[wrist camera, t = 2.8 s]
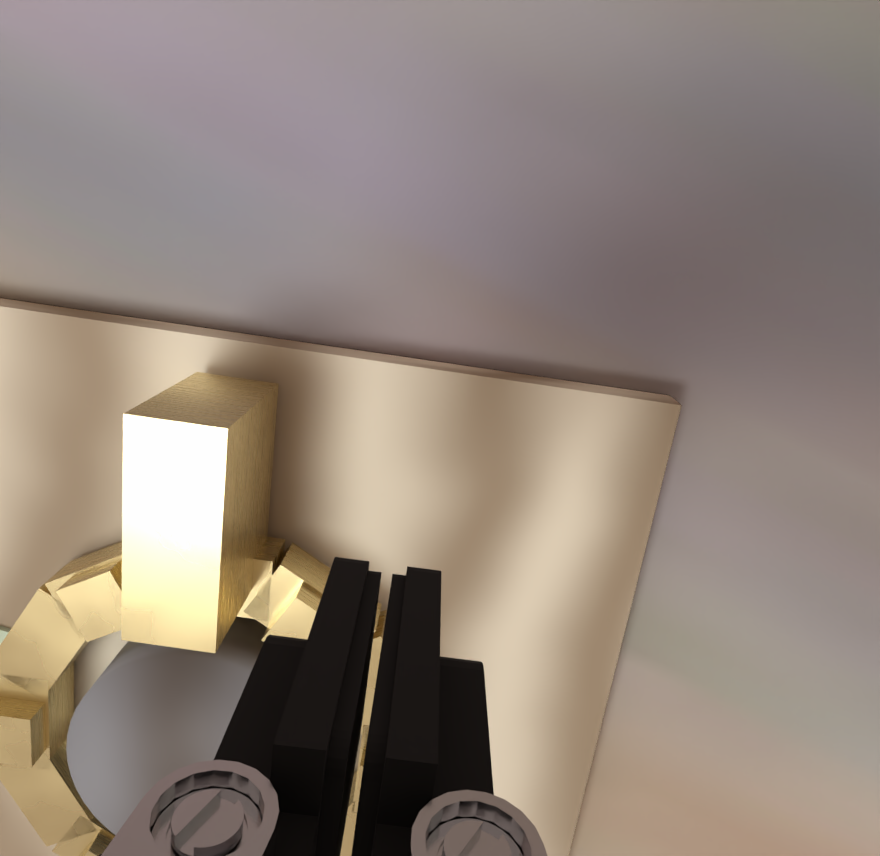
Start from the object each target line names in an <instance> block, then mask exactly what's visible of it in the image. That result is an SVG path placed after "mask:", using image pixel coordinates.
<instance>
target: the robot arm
mask: <svg viewBox="0 0 880 856" xmlns="http://www.w3.org/2000/svg"><path fill="white" fill-rule="evenodd" d="M381 573H382V572H376V571H369V561H363V560H356V559H348V558H340V557H335V558H334V560H333V563H332V566H331V569H330V572H329V575H328V579H327V582H326V585H325V588H324V591H323V594H322V597H321V600H320V603H319V606H318V609H317V612H316V615H315V618H314V621H313V624H312V627H311V630H310V633H309V636H308V639H300V638H293V637H285V636H277V635H268V636H267V637H266V639H265V641H264V643H263V645H262V648H261V650H260V652H259V655H258V657H257V659H256V662H255V664H254V666H253V669H252V671H251V673H250V676H249V678H248V680H247V683H246V685H245V687H244V690H243V692H242V695H241V697H240V699H239V702H238V704H237V706H236V709H235V711H234V713H233V716H232V718H231V720H230V723H229V725H228V727H227V730H226V732H225V734H224V737H223V739H222V741H221V744H220V746H219V748H218V751H217V753H216V755H215V758H214V760H211V761H203V762H196V763H194V764H191V765H188V766H185V767H182V768H179V769H177V770H175V771H173V772H172V773H170V774H169V775H167V776H166V777H164V778H162V779H161V780H159V781H158V782H157V783H156V784H155V785H154V786H153V787H152V788H151V789H150V790H149V791H148V792H147V793H146V794H145V796H144V797H143V798H142V799H141V801H140V802H139V804H138V805H137V806H136V808H135V809H134V811H133V812H132V813H131V815H130V816H129V817H128V819H127V820H126V822H125V823H124V824H123V826H122V827H121V829H120V830H119V831H118V833H117V834H116V835H115V837H114V838H113V840H112V841H111V842H110V844H109V845H108V847H107V848H106V849H105V851H104V852H103V853H102V854H101V855H99V856H340V853H341V847H342V841H343V835H344V829H345V823H346V817H347V811H348V805H349V799H350V793H351V787H352V781H353V776H354V770H355V764H356V758H357V752H358V746H359V740H360V733H361V727H362V720H363V713H364V705H365V697H366V689H367V682H368V674H369V666H370V659H371V651H372V643H373V636H374V628H375V620H376V613H377V605H378V597H379V590H380V582H381ZM440 628H441V571H439V570H432V569H424V568H416V567H409V566H407V572H406V575H399V574H392V581H391V587H390V594H389V600H388V607H387V613H386V620H385V626H384V633H383V639H382V646H381V652H380V659H379V666H378V672H377V679H376V685H375V692H374V698H373V705H372V711H371V718H370V724H369V731H368V738H367V744H366V751H365V758H364V765H363V772H362V780H361V787H360V795H359V802H358V810H357V817H356V824H355V832H354V839H353V847H352V854H351V856H547V853H546V850H545V846H544V843H543V841H542V839H541V837H540V835H539V833H538V831H537V829H536V827H535V826H534V824H533V823H532V822H531V821H530V820H529V819H528V818H527V817H526V815H525V814H524V813H523V812H522V811H521V810H519V809H518V808H517V807H515V806H514V805H512V804H511V803H509V802H508V801H506V800H505V799H502V798H500V797H497V796H495V795H494V791H493V778H492V766H491V753H490V740H489V727H488V714H487V702H486V689H485V676H484V667H483V663H482V662H481V661H473V660H465V659H457V658H449V657H441V656H440Z"/></svg>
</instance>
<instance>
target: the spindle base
mask: <svg viewBox="0 0 880 856" xmlns="http://www.w3.org/2000/svg"><path fill="white" fill-rule="evenodd" d="M196 372H202V373H209V374H216V375H223V376H230V377H237V378H243V379H250V380H257V381H264V382H271V383H278V384H279V389H278V402H277V415H276V428H275V441H274V455H273V468H272V481H271V494H270V507H269V520H268V534H267V537H273V538H280V539H285V550H284V552H285V551H286V550H287V549H288V547H289V546H290V545H291V544H292V542H293V543H295V544H296V545H297V546H299V547H300V548H302V549H303V550H305V551H306V552H308V553H309V554H310V555H312V556H313V557H315V558H316V559H318V560H319V561H320V562H322V563H323V564H325V565H326V566H328V567H329V568H330V569H331V566H332V563H333V560H334V558H335V557H340V558H348V559H356V560H363V561H369V571H376V572H382V573H381V582H380V590H379V597H378V602H379V603H381V604H382V605H381V610H380V612H381V611H384V610H387V607H388V600H389V594H390V587H391V581H392V574H399V575H406V572H407V566H409V567H416V568H424V569H432V570H439V571H441V628H440V656H441V657H449V658H457V659H465V660H473V661H481V662H482V663H483V667H484V676H485V689H486V702H487V714H488V727H489V740H490V753H491V766H492V778H493V791H494V795H495V796H497V797H500V798H502V799H505V800H506V801H508V802H509V803H511V804H512V805H514V806H515V807H517V808H518V809H519V810H521V811H522V812H523V813H524V814H525V815H526V817H527V818H528V819H529V820H530V821H531V822H532V823H533V824H534V826H535V827H536V829H537V831H538V833H539V835H540V837H541V839H542V841H543V843H544V846H545V850H546V853H547V856H569V852H570V848H571V844H572V840H573V836H574V832H575V828H576V824H577V820H578V816H579V812H580V808H581V804H582V800H583V796H584V792H585V788H586V784H587V780H588V776H589V772H590V768H591V764H592V760H593V756H594V752H595V748H596V744H597V740H598V736H599V732H600V729H601V725H602V721H603V717H604V713H605V709H606V705H607V701H608V697H609V693H610V689H611V685H612V681H613V677H614V673H615V669H616V665H617V661H618V657H619V653H620V649H621V645H622V641H623V637H624V633H625V629H626V625H627V621H628V617H629V613H630V609H631V605H632V601H633V597H634V593H635V589H636V585H637V581H638V577H639V573H640V569H641V565H642V561H643V557H644V553H645V549H646V545H647V541H648V537H649V533H650V529H651V525H652V521H653V517H654V513H655V509H656V505H657V501H658V497H659V493H660V489H661V485H662V481H663V477H664V473H665V469H666V465H667V461H668V457H669V453H670V449H671V445H672V441H673V437H674V433H675V429H676V425H677V421H678V417H679V413H680V409H681V404H679V403H678V402H677V401H676V400H675V399H673V398H672V397H671V396H670V395H663V394H656V393H649V392H642V391H635V390H628V389H622V388H615V387H608V386H601V385H594V384H587V383H580V382H573V381H567V380H560V379H553V378H546V377H539V376H532V375H525V374H518V373H512V372H505V371H498V370H491V369H484V368H477V367H470V366H463V365H457V364H450V363H443V362H436V361H429V360H422V359H415V358H409V357H402V356H395V355H388V354H381V353H374V352H367V351H360V350H354V349H347V348H340V347H333V346H326V345H319V344H312V343H305V342H299V341H292V340H285V339H278V338H271V337H264V336H257V335H250V334H244V333H237V332H230V331H223V330H216V329H209V328H202V327H196V326H189V325H182V324H175V323H168V322H161V321H154V320H147V319H141V318H134V317H127V316H120V315H113V314H106V313H99V312H92V311H86V310H79V309H72V308H65V307H58V306H51V305H44V304H37V303H31V302H24V301H17V300H10V299H3V298H0V644H1V643H2V641H3V640H4V639H5V637H6V636H7V634H8V633H9V631H10V630H11V628H12V627H13V625H14V624H15V622H16V621H17V620H18V618H19V617H20V615H21V614H22V612H23V611H24V609H25V608H26V606H27V605H28V604H29V602H30V601H31V599H32V598H33V596H34V595H35V593H36V592H37V590H38V589H39V588H40V587H41V586H42V585H43V584H44V583H46V582H47V581H48V580H49V579H50V578H51V577H52V576H54V575H55V574H56V573H57V572H58V571H59V570H61V569H62V568H63V567H64V566H65V565H66V564H68V563H69V562H70V561H72V560H74V559H77V558H79V557H82V556H85V555H87V554H90V553H93V552H95V551H98V550H100V549H103V548H106V547H108V546H111V545H114V544H116V543H119V542H122V493H123V414H124V413H125V412H127V411H129V410H131V409H132V408H134V407H136V406H138V405H139V404H141V403H143V402H145V401H147V400H148V399H150V398H152V397H154V396H155V395H157V394H159V393H161V392H162V391H164V390H166V389H168V388H169V387H171V386H173V385H175V384H177V383H178V382H180V381H182V380H184V379H185V378H187V377H189V376H191V375H192V374H194V373H196ZM266 629H267V627H266V626H264V625H263V624H261V623H260V622H258V621H257V620H255V619H251V618H244V617H237V616H236V618H235V620H234V622H233V623H232V625H231V627H230V629H229V630H228V632H227V634H226V636H225V637H224V639H223V641H222V643H221V644H220V646H219V648H218V650H217V651H216V653H210V652H202V651H195V650H188V649H181V648H174V647H167V646H160V645H153V644H145V643H138V642H131V641H124V640H121V630H120V631H117V632H114V633H111V634H108V635H106V636H103V637H100V638H97V639H95V640H92V641H89V642H88V644H87V645H86V646H85V648H84V649H83V650H82V652H81V653H80V654H79V656H78V657H77V659H76V660H75V661H74V714H73V717H72V719H71V721H70V725H69V729H68V734H67V746H66V751H67V762H68V766H69V770H70V774H71V777H72V780H73V782H74V785H75V787H76V790H77V791H78V793H79V795H80V797H81V798H82V800H83V802H84V803H85V805H86V806H87V807H88V808H89V810H90V811H91V812H92V814H93V815H94V816H95V817H96V818H97V819H98V820H99V821H100V822H101V823H102V824H103V825H104V826H105V827H106V828H107V829H109V830H110V831H111V832H112V833H113V834H115V835H116V834H117V833H118V831H119V830H120V829H121V827H122V826H123V824H124V823H125V822H126V820H127V819H128V817H129V816H130V815H131V813H132V812H133V811H134V809H135V808H136V806H137V805H138V804H139V802H140V801H141V799H142V798H143V797H144V796H145V794H146V793H147V792H148V791H149V790H150V789H151V788H152V787H153V786H154V785H155V784H156V783H157V782H158V781H159V780H161V779H162V778H164V777H166V776H167V775H169V774H170V773H172V772H173V771H175V770H177V769H179V768H182V767H185V766H188V765H191V764H194V763H196V762H203V761H211V760H214V758H215V755H216V753H217V751H218V748H219V746H220V744H221V741H222V739H223V737H224V734H225V732H226V730H227V727H228V725H229V723H230V720H231V718H232V716H233V713H234V711H235V709H236V706H237V704H238V702H239V699H240V697H241V695H242V692H243V690H244V687H245V685H246V683H247V680H248V678H249V676H250V673H251V671H252V669H253V666H254V664H255V662H256V659H257V657H258V655H259V652H260V650H261V648H262V645H263V643H264V642H263V641H262V640H261V639H262V637H263V635H264V633H265V631H266ZM361 738H362V735H361V733H360V740H359V746H358V752H357V758H356V764H355V770H354V773H355V772H356V771H357V769H358V761H359V754H360V746H361ZM55 846H56V844H54V845H50V846H46V845H45V844H44V842H43V841H42V839H41V838H40V836H39V835H38V834H37V832H36V831H35V829H34V828H33V826H32V825H31V824H30V822H29V821H28V819H27V818H26V816H25V815H24V814H23V812H22V811H21V809H20V808H19V806H18V805H17V804H16V802H15V801H14V799H13V798H12V796H11V795H10V794H9V792H8V791H7V789H6V788H5V786H4V785H3V784H2V782H1V781H0V856H59V855H57V854H56V853H54V852H52V850H53V849H54V847H55Z"/></svg>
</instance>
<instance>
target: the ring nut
mask: <svg viewBox="0 0 880 856" xmlns="http://www.w3.org/2000/svg"><path fill="white" fill-rule="evenodd" d="M278 389H279V384H278V383H271V382H264V381H257V380H250V379H243V378H237V377H230V376H223V375H216V374H209V373H202V372H196V373H194V374H192V375H191V376H189V377H187V378H185V379H184V380H182V381H180V382H178V383H177V384H175V385H173V386H171V387H169V388H168V389H166V390H164V391H162V392H161V393H159V394H157V395H155V396H154V397H152V398H150V399H148V400H147V401H145V402H143V403H141V404H139V405H138V406H136V407H134V408H132V409H131V410H129V411H127V412H125V413H124V414H123V493H122V542H119V543H116V544H114V545H111V546H108V547H106V548H103V549H100V550H98V551H95V552H93V553H90V554H87V555H85V556H82V557H79V558H77V559H74V560H72V561H70V562H69V563H68V564H66V565H65V566H64V567H63V568H62V569H61V570H59V571H58V572H57V573H56V574H55V575H54V576H52V577H51V578H50V579H49V580H48V581H47V582H46V583H44V584H43V585H42V586H41V587H40V588H39V589H38V590H37V592H36V593H35V595H34V596H33V598H32V599H31V601H30V602H29V604H28V605H27V606H26V608H25V609H24V611H23V612H22V614H21V615H20V617H19V618H18V620H17V621H16V622H15V624H14V625H13V627H12V628H11V630H10V631H9V633H8V634H7V636H6V637H5V639H4V640H3V641H2V643H1V644H0V781H1V782H2V784H3V785H4V786H5V788H6V789H7V791H8V792H9V794H10V795H11V796H12V798H13V799H14V801H15V802H16V804H17V805H18V806H19V808H20V809H21V811H22V812H23V814H24V815H25V816H26V818H27V819H28V821H29V822H30V824H31V825H32V826H33V828H34V829H35V831H36V832H37V834H38V835H39V836H40V838H41V839H42V841H43V842H44V844H45V845H46V846H50V845H54V844H56V846H55V847H54V849H53V850H52V852H54V853H56V854H57V855H59V856H99V855H101V854H102V853H103V852H104V851H105V849H106V848H107V847H108V845H109V844H110V842H111V841H112V840H113V838H114V837H115V834H113V833H112V832H111V831H110V830H109V829H107V828H106V827H105V826H104V825H103V824H102V823H101V822H100V821H99V820H98V819H97V818H96V817H95V816H94V815H93V814H92V812H91V811H90V810H89V808H88V807H87V806H86V805H85V803H84V802H83V800H82V798H81V797H80V795H79V793H78V791H77V790H76V787H75V785H74V782H73V780H72V777H71V774H70V770H69V766H68V762H67V751H66V746H67V734H68V729H69V725H70V721H71V719H72V717H73V714H74V661H75V660H76V659H77V657H78V656H79V654H80V653H81V652H82V650H83V649H84V648H85V646H86V645H87V644H88V642H89V641H92V640H95V639H97V638H100V637H103V636H106V635H108V634H111V633H114V632H117V631H120V630H121V640H124V641H131V642H138V643H145V644H153V645H160V646H167V647H174V648H181V649H188V650H195V651H202V652H210V653H216V651H217V650H218V648H219V646H220V644H221V643H222V641H223V639H224V637H225V636H226V634H227V632H228V630H229V629H230V627H231V625H232V623H233V622H234V620H235V618H236V616H237V617H244V618H251V619H255V620H257V621H258V622H260V623H261V624H263V625H264V626H266V627H267V629H266V631H265V633H264V635H263V637H262V639H261V640H262V641H263V642H264V641H265V639H266V637H267V636H268V635H277V636H285V637H293V638H300V639H308V636H309V633H310V630H311V627H312V624H313V621H314V618H315V615H316V612H317V609H318V606H319V603H320V600H321V597H322V594H323V591H324V588H325V585H326V582H327V579H328V575H329V572H330V568H329V567H328V566H326V565H325V564H323V563H322V562H320V561H319V560H318V559H316V558H315V557H313V556H312V555H310V554H309V553H308V552H306V551H305V550H303V549H302V548H300V547H299V546H297V545H296V544H295V543H293V542H292V544H291V545H290V546H289V547H288V549H287V550H286V551H285V552H284V550H285V539H280V538H273V537H267V534H268V520H269V507H270V494H271V481H272V468H273V455H274V441H275V428H276V415H277V402H278ZM381 605H382V604H381V603H379V602H378V605H377V613H376V620H375V628H374V636H373V643H372V651H371V659H370V666H369V674H368V682H367V689H366V697H365V705H364V713H363V720H362V727H361V735H362V738H361V746H360V754H359V761H358V769H357V771H356V772H355V773H354V776H353V781H352V787H351V793H350V799H349V805H348V811H347V817H346V823H345V829H344V835H343V841H342V847H341V853H340V856H351V854H352V847H353V839H354V832H355V824H356V817H357V810H358V802H359V795H360V787H361V780H362V772H363V765H364V758H365V751H366V744H367V738H368V731H369V724H370V718H371V711H372V705H373V698H374V692H375V685H376V679H377V672H378V666H379V659H380V652H381V646H382V639H383V633H384V626H385V620H386V613H387V610H384V611H381V612H380V610H381Z"/></svg>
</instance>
